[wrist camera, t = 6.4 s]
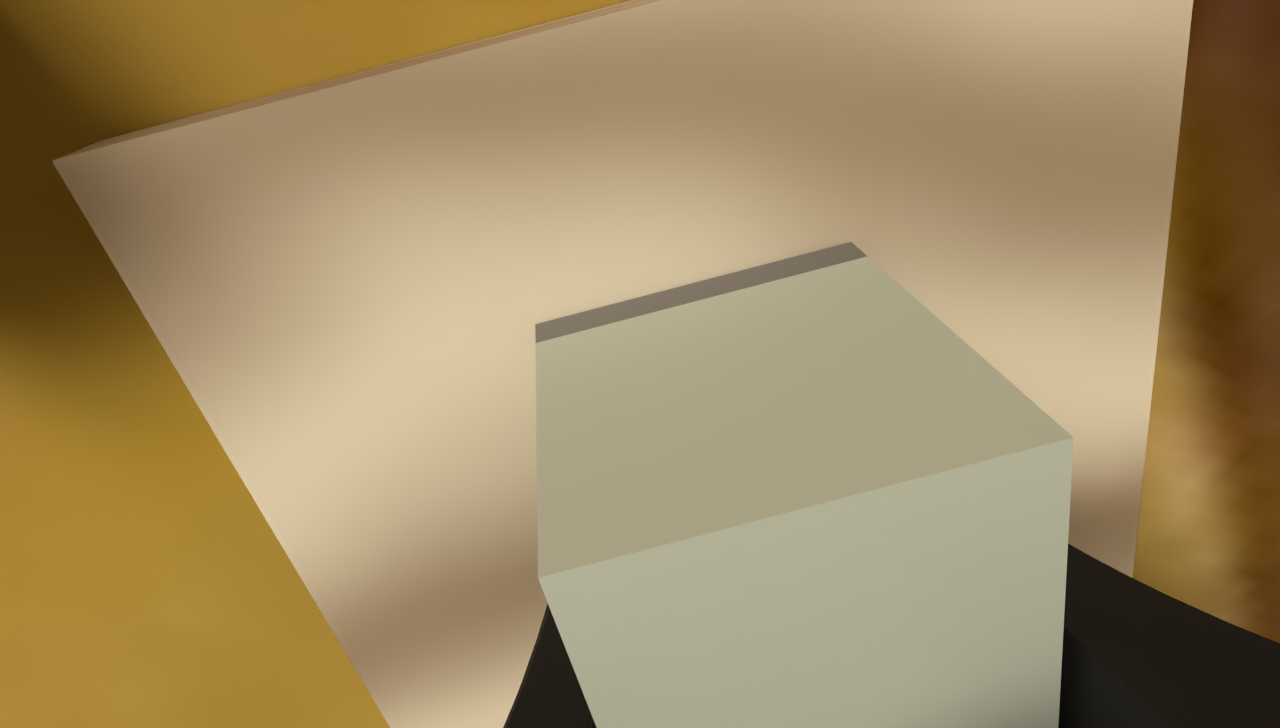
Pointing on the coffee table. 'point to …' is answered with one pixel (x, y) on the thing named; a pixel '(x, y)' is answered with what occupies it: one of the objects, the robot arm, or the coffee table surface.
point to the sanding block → (798, 509)
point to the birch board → (628, 263)
